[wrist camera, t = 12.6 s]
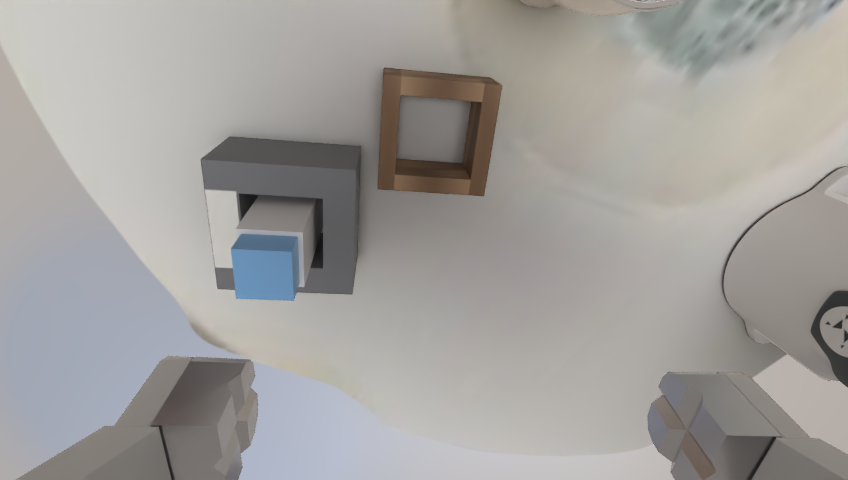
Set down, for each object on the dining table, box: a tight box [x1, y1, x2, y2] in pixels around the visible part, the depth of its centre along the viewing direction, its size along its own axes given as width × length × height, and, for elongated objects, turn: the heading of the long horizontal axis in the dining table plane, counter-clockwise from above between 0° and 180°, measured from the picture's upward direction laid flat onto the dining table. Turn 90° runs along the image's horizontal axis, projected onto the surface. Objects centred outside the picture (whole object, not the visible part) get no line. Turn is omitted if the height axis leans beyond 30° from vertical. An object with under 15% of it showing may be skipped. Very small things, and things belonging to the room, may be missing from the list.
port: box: [201, 137, 361, 294], centre depth 35 cm, size 10×10×6 cm
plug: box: [231, 195, 323, 301], centre depth 32 cm, size 4×4×12 cm
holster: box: [378, 68, 502, 196], centre depth 33 cm, size 8×8×4 cm
